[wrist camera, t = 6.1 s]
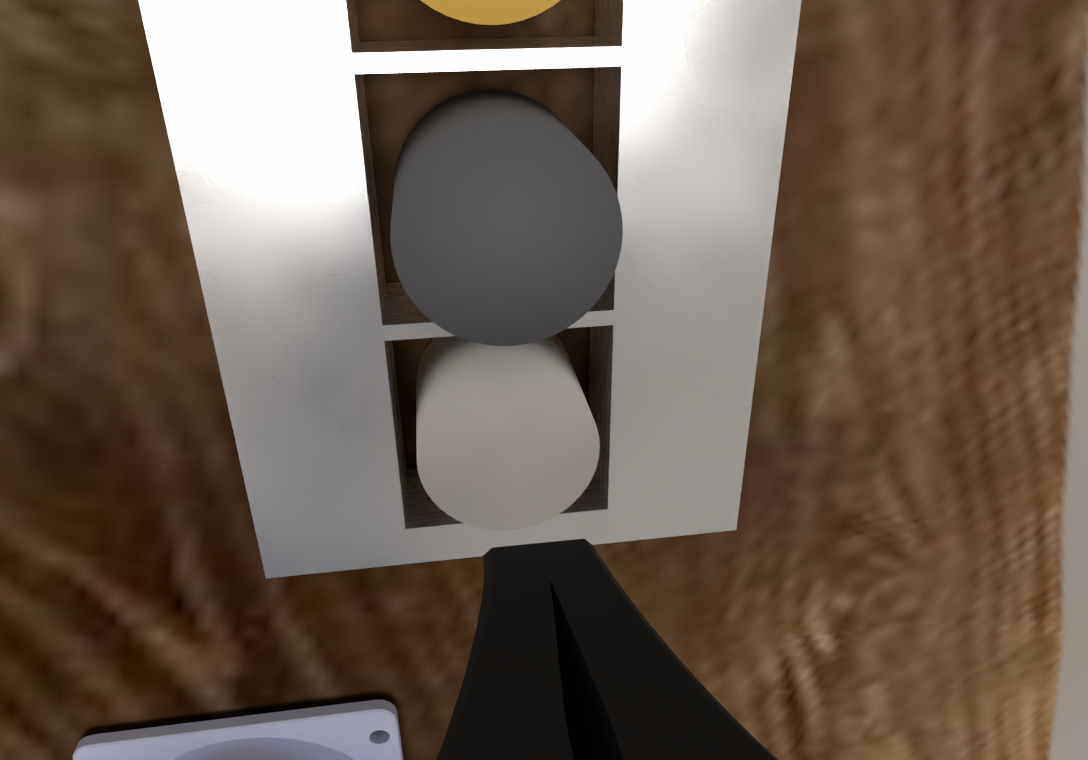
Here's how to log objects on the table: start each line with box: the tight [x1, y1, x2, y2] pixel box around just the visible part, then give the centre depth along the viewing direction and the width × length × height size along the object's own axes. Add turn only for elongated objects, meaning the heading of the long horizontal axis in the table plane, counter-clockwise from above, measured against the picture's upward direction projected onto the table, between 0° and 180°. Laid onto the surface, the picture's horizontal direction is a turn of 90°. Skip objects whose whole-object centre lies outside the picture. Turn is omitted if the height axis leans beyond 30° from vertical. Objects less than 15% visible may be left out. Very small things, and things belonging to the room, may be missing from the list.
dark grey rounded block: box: [390, 89, 623, 346], centre depth 13 cm, size 3×3×3 cm
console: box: [138, 0, 801, 578], centre depth 15 cm, size 15×10×2 cm, turn 1°
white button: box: [416, 334, 600, 530], centre depth 16 cm, size 3×3×3 cm
